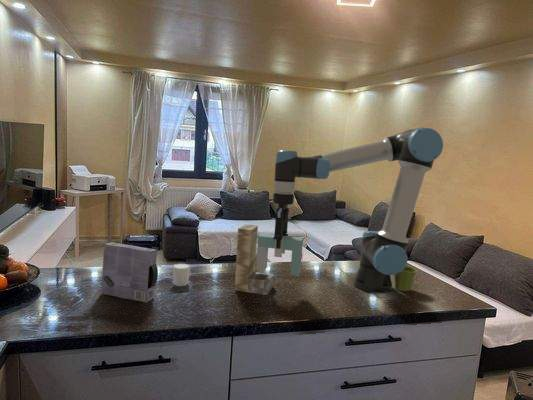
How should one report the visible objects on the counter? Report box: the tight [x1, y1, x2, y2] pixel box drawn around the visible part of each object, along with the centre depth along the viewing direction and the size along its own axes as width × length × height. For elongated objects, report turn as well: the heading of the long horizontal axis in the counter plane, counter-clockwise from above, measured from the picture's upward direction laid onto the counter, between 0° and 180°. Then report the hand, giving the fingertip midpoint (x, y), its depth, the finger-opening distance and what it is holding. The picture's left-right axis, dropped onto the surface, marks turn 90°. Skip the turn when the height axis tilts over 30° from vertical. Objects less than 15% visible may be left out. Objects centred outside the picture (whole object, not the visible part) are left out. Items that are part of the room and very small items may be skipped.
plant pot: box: [394, 265, 418, 292], centre depth 159 cm, size 9×9×9 cm
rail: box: [256, 233, 304, 277], centre depth 145 cm, size 16×5×13 cm, turn 76°
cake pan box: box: [100, 241, 159, 304], centre depth 132 cm, size 19×5×18 cm, turn 74°
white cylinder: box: [171, 263, 191, 287], centre depth 149 cm, size 7×7×7 cm
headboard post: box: [234, 224, 274, 296], centre depth 147 cm, size 12×10×24 cm
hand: (279, 254), depth 145 cm, fingers closed on rail, 5 cm apart
